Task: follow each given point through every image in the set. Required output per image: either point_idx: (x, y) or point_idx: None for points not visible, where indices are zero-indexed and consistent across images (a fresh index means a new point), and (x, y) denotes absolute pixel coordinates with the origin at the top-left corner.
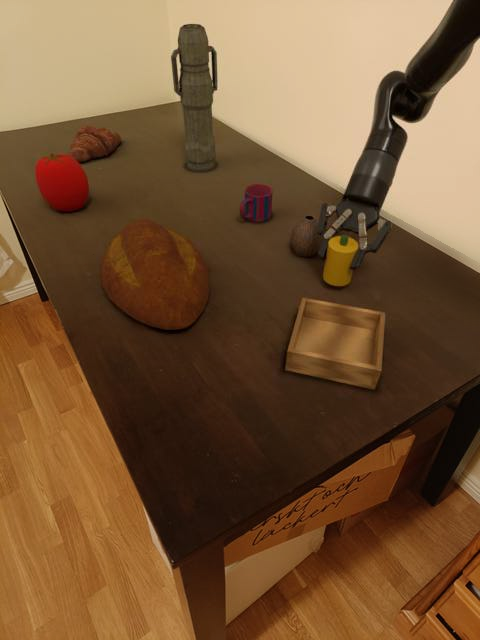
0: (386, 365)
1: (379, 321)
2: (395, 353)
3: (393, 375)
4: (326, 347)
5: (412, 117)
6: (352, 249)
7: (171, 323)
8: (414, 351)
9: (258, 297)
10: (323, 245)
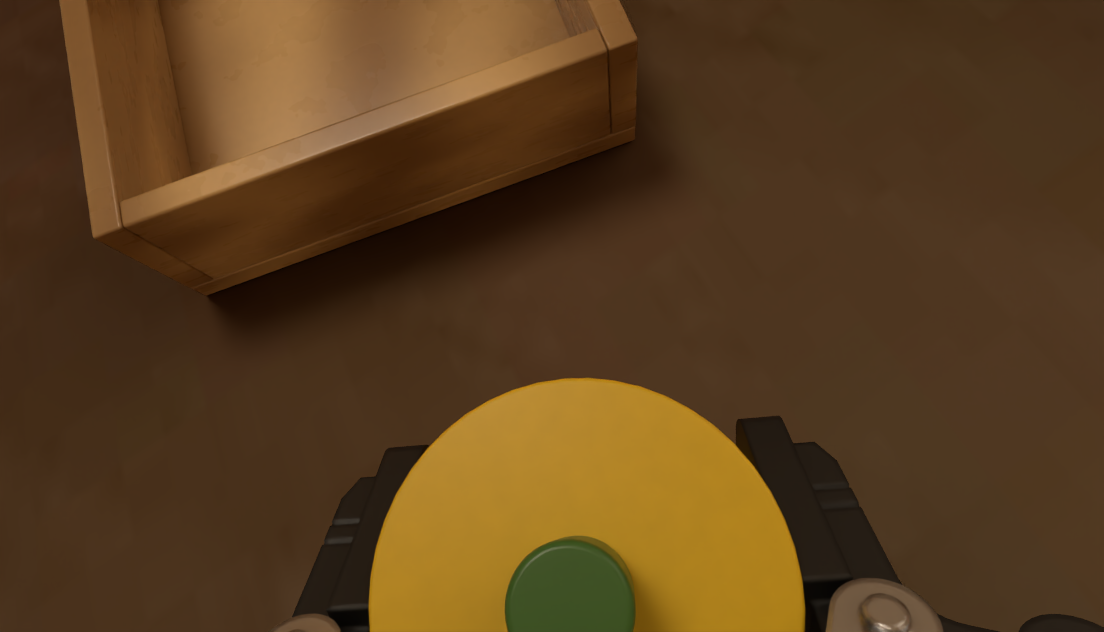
0: None
1: (124, 169)
2: None
3: None
4: (394, 11)
5: None
6: (416, 533)
7: None
8: (17, 276)
9: (949, 127)
10: (834, 528)
